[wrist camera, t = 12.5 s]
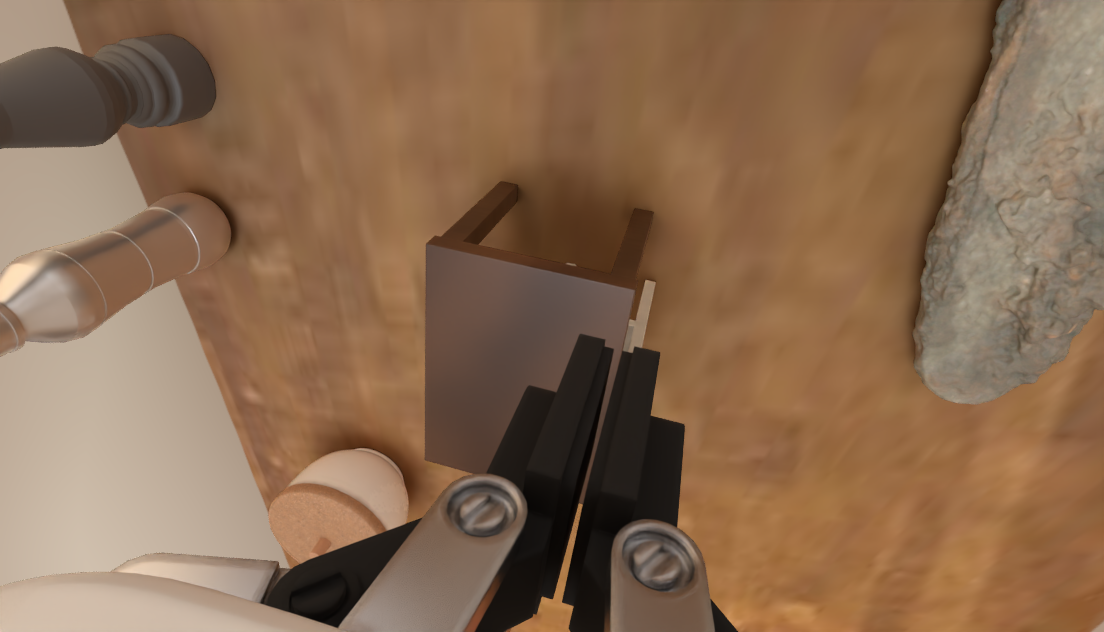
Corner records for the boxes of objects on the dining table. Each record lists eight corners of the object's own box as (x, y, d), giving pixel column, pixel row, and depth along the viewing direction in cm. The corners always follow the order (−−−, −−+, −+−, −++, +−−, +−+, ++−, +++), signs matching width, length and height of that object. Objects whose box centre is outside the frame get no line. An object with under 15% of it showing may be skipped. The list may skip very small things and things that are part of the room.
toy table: (657, 209, 42) (635, 290, 31) (616, 394, 51) (588, 506, 40) (497, 178, 44) (425, 243, 33) (484, 361, 53) (424, 460, 42)
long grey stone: (1313, -269, 26) (1044, -237, 28) (1432, -331, 21) (1099, -285, 24) (1035, 397, 41) (878, 377, 44) (1069, 443, 37) (893, 418, 39)
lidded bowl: (371, 411, 59) (306, 491, 50) (450, 496, 63) (403, 586, 53) (299, 451, 65) (229, 529, 56) (375, 526, 69) (321, 612, 59)
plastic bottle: (250, 214, 51) (17, 330, 34) (232, 269, 54) (14, 399, 38) (184, 170, 50) (-85, 267, 33) (171, 229, 54) (-78, 343, 37)
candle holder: (220, 59, 44) (-226, 134, 23) (211, 132, 48) (-188, 255, 27) (147, 18, 44) (-370, 55, 23) (142, 94, 48) (-313, 187, 27)
